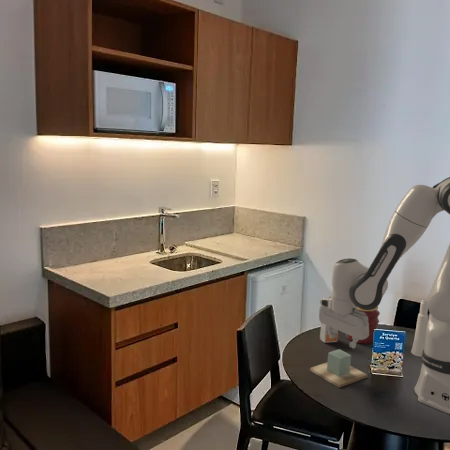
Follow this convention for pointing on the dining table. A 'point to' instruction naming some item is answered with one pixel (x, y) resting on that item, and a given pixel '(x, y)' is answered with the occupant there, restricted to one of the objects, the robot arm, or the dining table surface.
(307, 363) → the dining table surface
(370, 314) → the canister
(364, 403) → the dining table surface
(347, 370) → the pale green cube
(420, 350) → the cosmetic bottle
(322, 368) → the post board
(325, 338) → the skincare box
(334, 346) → the dining table surface
